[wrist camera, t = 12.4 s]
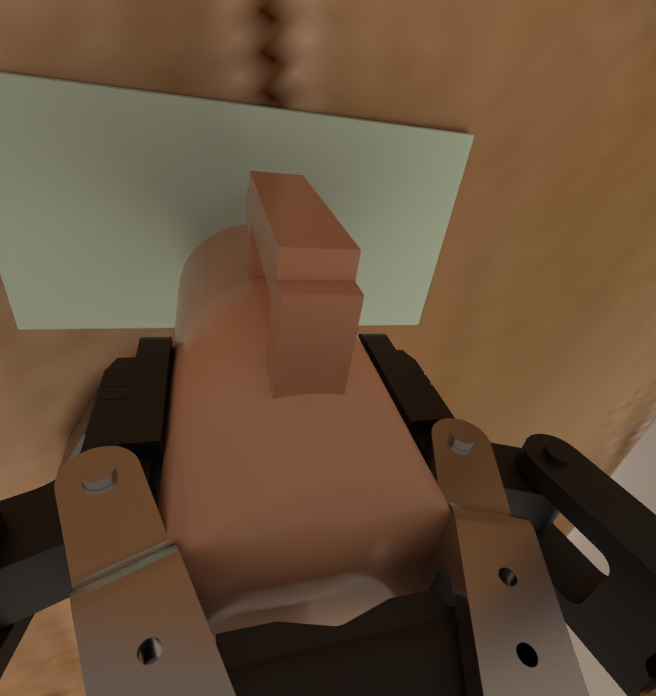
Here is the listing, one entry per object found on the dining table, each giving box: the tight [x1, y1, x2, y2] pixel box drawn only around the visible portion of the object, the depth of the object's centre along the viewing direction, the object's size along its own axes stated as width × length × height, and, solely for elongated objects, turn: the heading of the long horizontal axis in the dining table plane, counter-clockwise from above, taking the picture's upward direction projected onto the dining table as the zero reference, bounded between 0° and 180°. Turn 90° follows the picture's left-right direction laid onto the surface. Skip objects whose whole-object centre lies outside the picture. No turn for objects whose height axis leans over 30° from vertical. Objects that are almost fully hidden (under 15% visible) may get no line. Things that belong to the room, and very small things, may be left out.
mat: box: [0, 71, 475, 330], centre depth 17 cm, size 18×9×1 cm, turn 82°
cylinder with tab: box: [158, 171, 451, 643], centre depth 10 cm, size 7×5×10 cm
